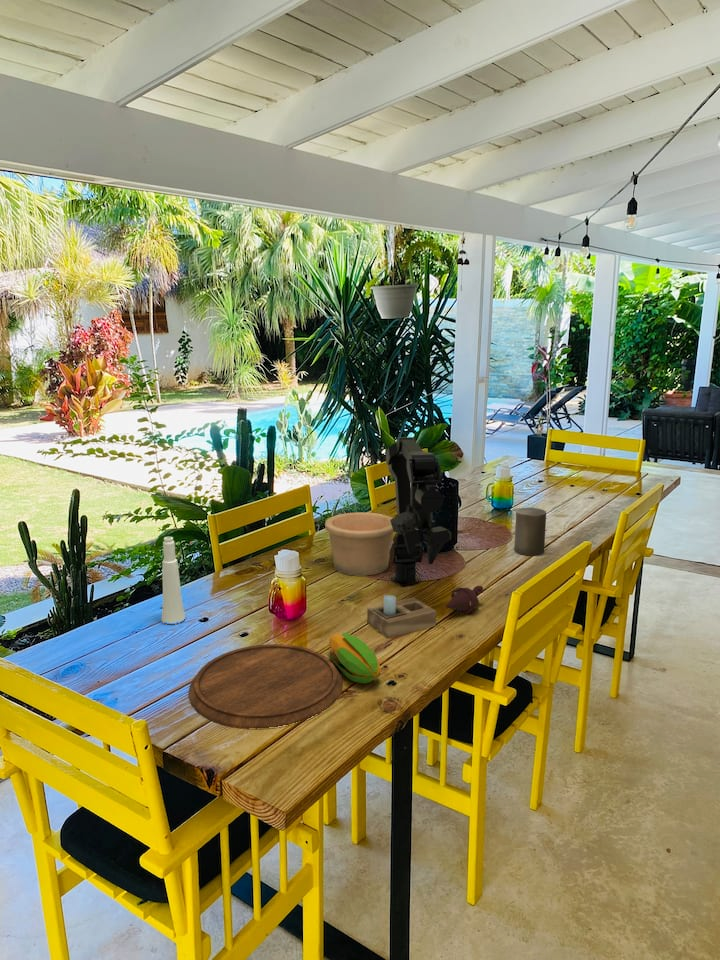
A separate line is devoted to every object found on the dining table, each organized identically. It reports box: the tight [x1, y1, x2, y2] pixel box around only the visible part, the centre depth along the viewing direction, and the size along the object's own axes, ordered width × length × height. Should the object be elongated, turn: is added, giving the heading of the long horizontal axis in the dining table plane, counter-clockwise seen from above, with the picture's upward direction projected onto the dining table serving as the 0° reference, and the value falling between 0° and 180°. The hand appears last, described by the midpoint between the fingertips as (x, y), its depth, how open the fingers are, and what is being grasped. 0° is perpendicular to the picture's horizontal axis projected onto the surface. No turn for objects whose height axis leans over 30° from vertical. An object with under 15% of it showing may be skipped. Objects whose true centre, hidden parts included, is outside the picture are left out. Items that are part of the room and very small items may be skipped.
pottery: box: [324, 511, 395, 577], centre depth 218 cm, size 22×22×14 cm
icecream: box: [445, 585, 484, 615], centre depth 186 cm, size 7×7×15 cm
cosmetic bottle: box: [161, 536, 186, 623], centre depth 179 cm, size 6×6×22 cm
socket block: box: [366, 597, 437, 639], centre depth 179 cm, size 10×14×4 cm
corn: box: [326, 632, 382, 684], centre depth 156 cm, size 7×8×20 cm
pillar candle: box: [513, 507, 547, 557], centre depth 232 cm, size 10×10×15 cm
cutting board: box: [188, 643, 344, 730], centre depth 150 cm, size 32×32×3 cm
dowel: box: [383, 594, 397, 616], centre depth 177 cm, size 3×3×8 cm
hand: (420, 558), depth 188 cm, fingers open, 9 cm apart
